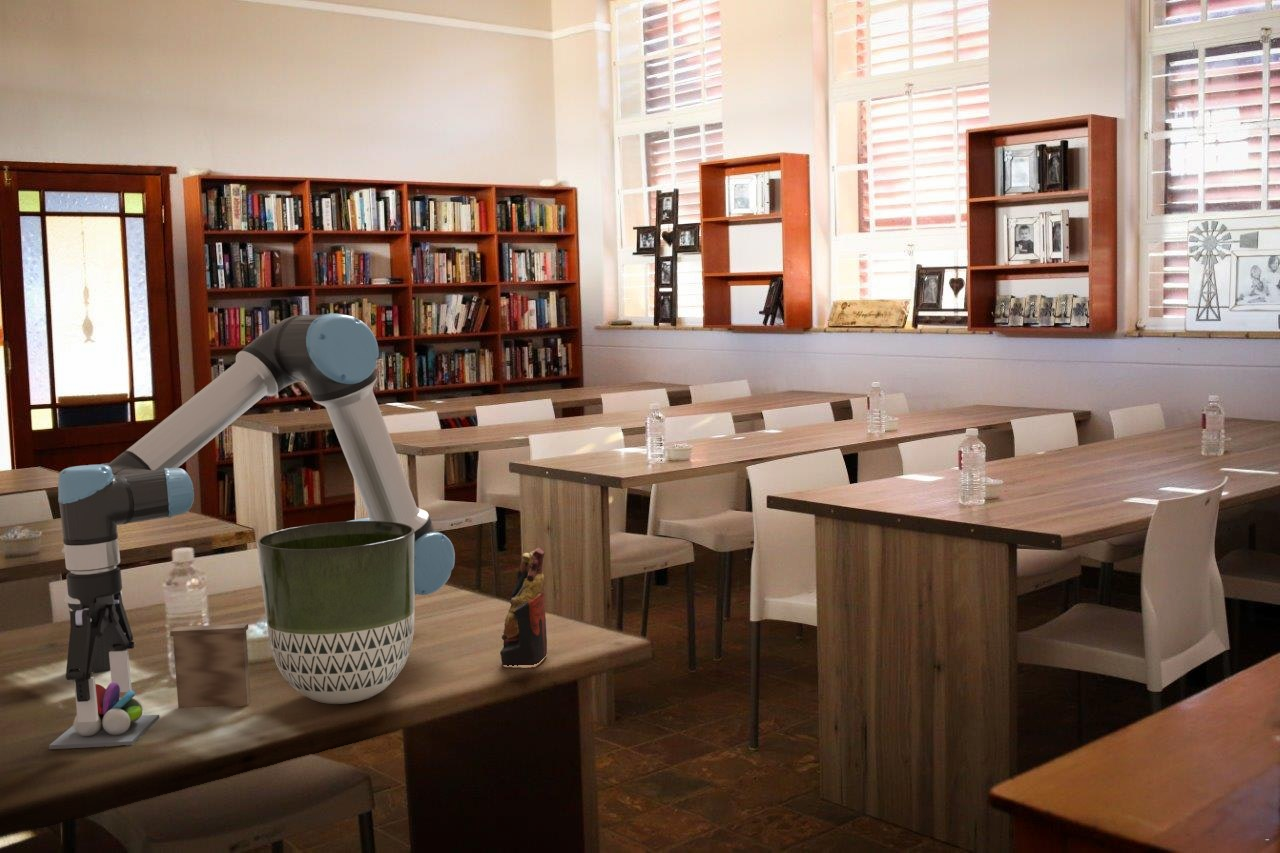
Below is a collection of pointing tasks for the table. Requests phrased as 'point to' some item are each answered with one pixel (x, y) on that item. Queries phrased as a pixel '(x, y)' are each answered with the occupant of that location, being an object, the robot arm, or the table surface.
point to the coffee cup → (102, 647)
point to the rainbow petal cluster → (111, 712)
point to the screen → (211, 666)
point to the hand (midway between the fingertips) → (105, 706)
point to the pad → (105, 735)
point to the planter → (339, 606)
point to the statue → (526, 615)
